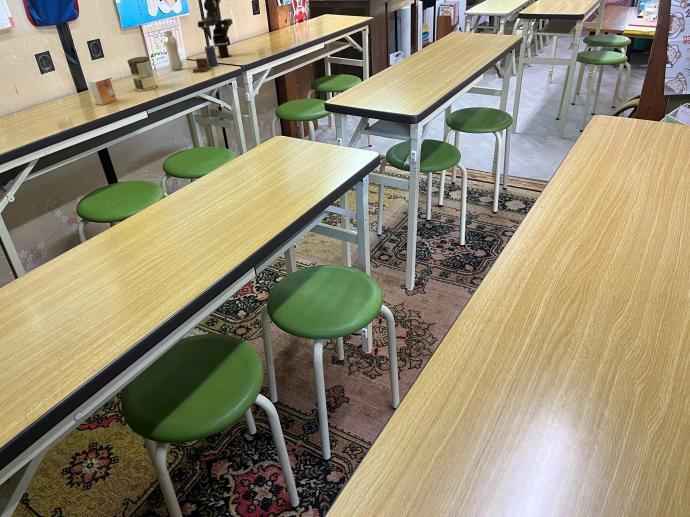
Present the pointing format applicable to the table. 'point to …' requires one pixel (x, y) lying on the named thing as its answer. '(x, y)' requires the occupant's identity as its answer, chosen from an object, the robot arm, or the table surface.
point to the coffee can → (142, 73)
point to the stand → (201, 65)
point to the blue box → (211, 56)
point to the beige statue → (172, 51)
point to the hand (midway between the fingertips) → (218, 39)
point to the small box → (102, 90)
